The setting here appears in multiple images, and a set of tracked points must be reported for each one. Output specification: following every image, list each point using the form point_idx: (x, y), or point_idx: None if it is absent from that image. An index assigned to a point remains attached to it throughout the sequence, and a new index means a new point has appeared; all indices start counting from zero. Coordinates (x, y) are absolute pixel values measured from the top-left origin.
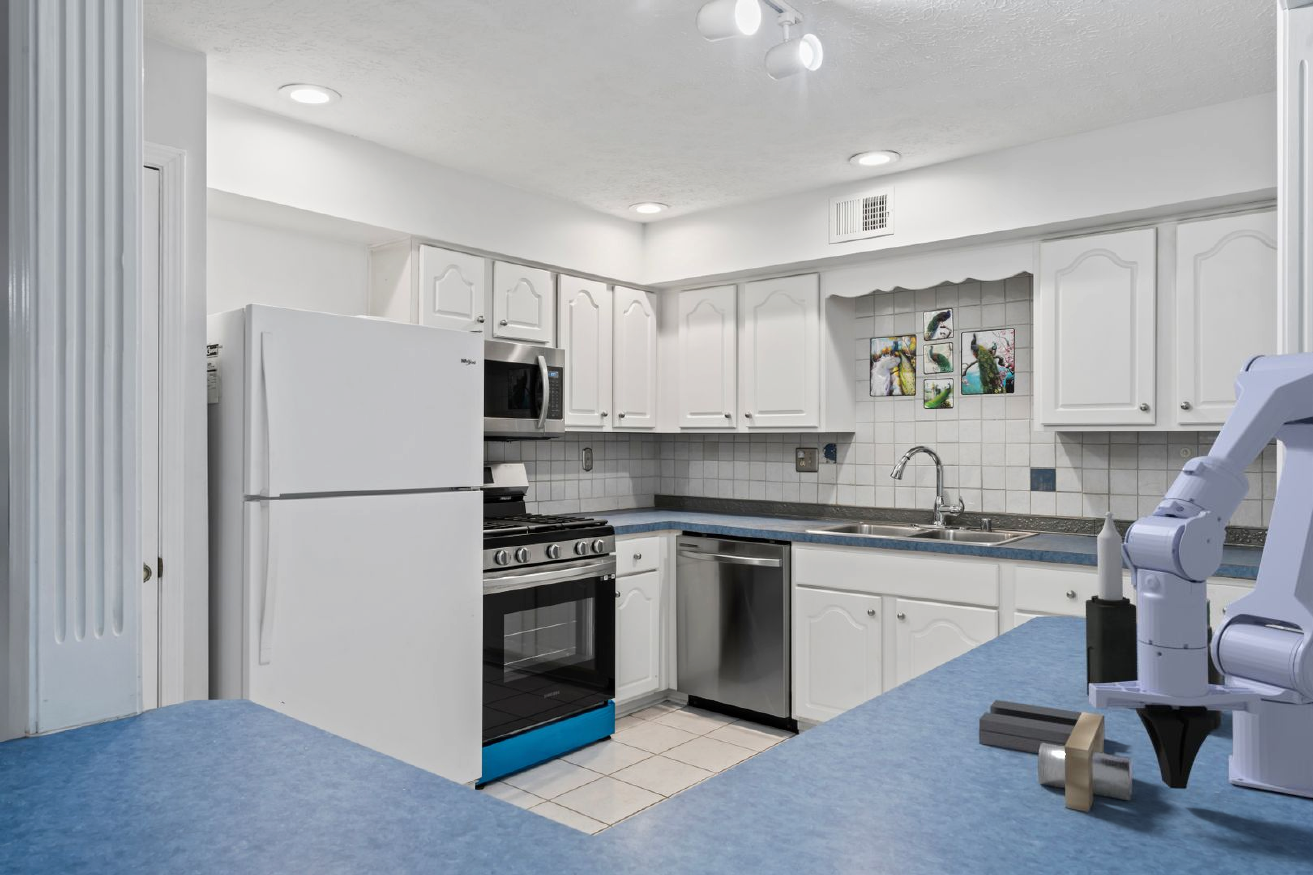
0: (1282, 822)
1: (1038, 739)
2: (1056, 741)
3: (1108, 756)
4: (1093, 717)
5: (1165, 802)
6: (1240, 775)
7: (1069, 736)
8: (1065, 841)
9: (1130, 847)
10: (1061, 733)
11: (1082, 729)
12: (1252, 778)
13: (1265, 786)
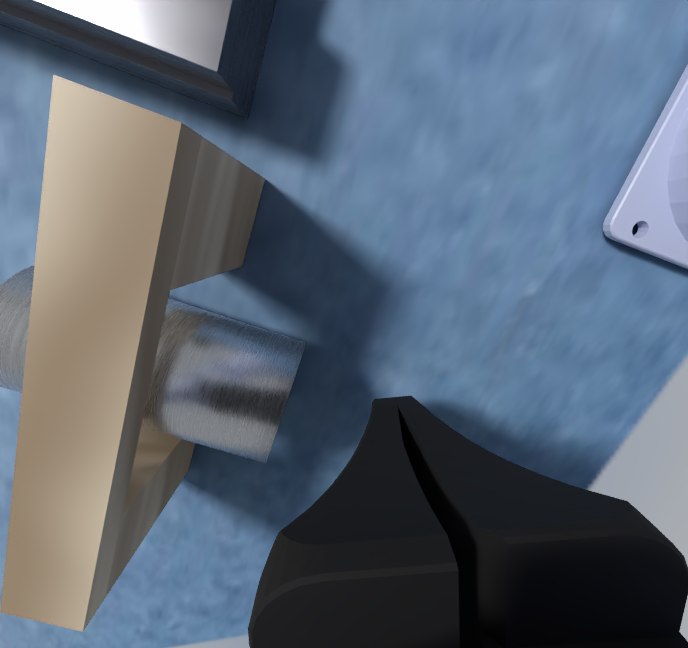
0: (585, 441)
1: (16, 8)
2: (86, 34)
3: (207, 427)
4: (120, 192)
5: (371, 385)
6: (661, 191)
7: (118, 35)
8: (135, 589)
9: (244, 589)
10: (77, 19)
11: (61, 415)
12: (679, 223)
13: (681, 263)
